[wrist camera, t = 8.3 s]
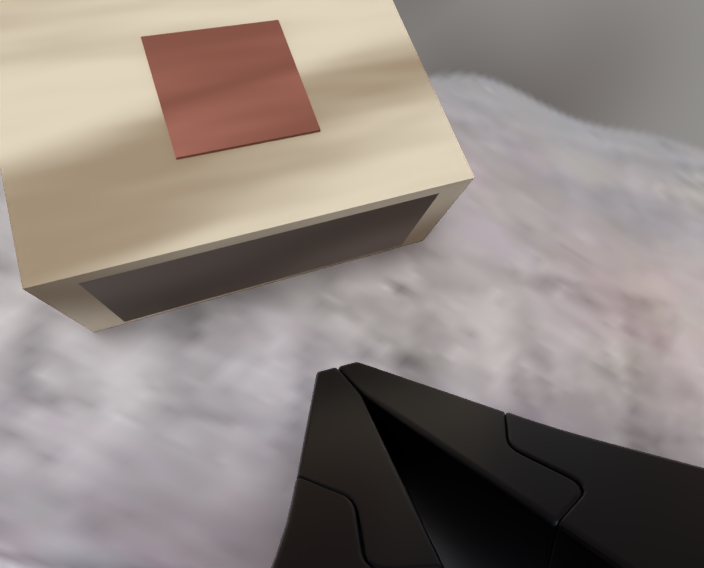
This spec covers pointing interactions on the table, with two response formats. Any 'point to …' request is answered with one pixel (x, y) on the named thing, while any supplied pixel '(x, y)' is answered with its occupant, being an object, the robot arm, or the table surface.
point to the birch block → (211, 146)
